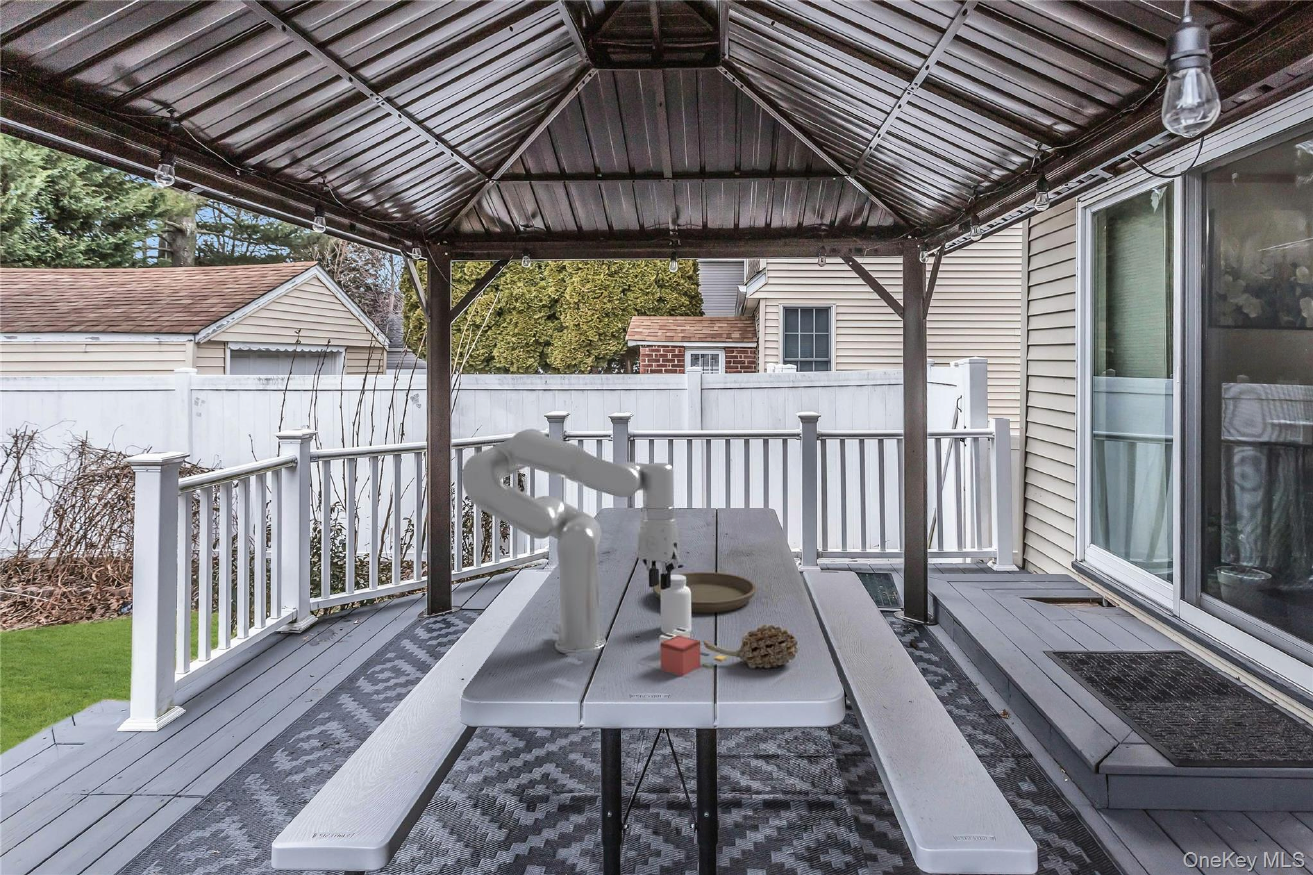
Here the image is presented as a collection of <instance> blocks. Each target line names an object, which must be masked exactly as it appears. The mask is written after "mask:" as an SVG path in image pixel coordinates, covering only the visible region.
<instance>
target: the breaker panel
mask: <svg viewBox="0 0 1313 875" xmlns="http://www.w3.org/2000/svg"><path fill="white" fill-rule="evenodd" d="M675 636H677V635H674V634H670V633H666V634H665V633H663V634H661V635H659V644H660V643H662V642H664V641H666V640H669V639H671V638H673V637H675ZM731 657H732V656H729V655H725V654H721V653H718V652H714V651H711V650H710V649H707V648H706V647H705V645H701V644H700V665H701V667H699V668H697V669H696V670H694V671H692V672H690V673H688V674H686V675H684V676H682V675H679V674H676V673H672V672H669V671H666V670H662V669H661V648H660V647H659V652H657V653H655V654H653V655H651V656H649V657H647V658H645V659H642V660H640V661H638V662H637V664H640V665H643V666H647V667H650V668H653V669H656V670H661V671H663V672H666V673H670V674H673V675H677V676H679V677H683V678H687V679H691V678H692V677H694V676H696V675H699V674H701V673H702V672H704V671H705V670H707V669H710V668H712V667H714V666H716V665H717V664H719V663H721V662H723V661H726V660H727V659H729V658H731Z"/></svg>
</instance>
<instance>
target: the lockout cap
mask: <svg viewBox="0 0 1313 875" xmlns="http://www.w3.org/2000/svg"><path fill="white" fill-rule="evenodd" d="M700 645H701V641H700V640H698V639H694V638H693V639H692V638H691V637H690V638H686V637H682V636H675V637H673V638H671V639H669V640H666V641H664V642H662V643H660V642H659V649H660V648H661V669H662V670H661V671H663V670H666V671H669V672H672V673H671V674H673V673H676V674H679V675H682V676H681V677H683V676H684V675H686V674H688V673H690V672H692V671H694V670H696V669H697V668H699V667H701V665H700ZM666 671H665V672H666ZM669 672H668V673H669ZM676 674H675V675H676ZM679 675H678V676H679Z"/></svg>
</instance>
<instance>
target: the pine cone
mask: <svg viewBox="0 0 1313 875" xmlns="http://www.w3.org/2000/svg"><path fill="white" fill-rule="evenodd" d="M701 642H703V646H705V647H706V648H707V649H710V650H711V651H714V652H718V653H721V654H725V655H729V656H731V657H736V658H739V659H740V660H741V661H744V662H746V663H747V665H748V668H750V669H755V668H762V667H763V668H765V669H771V668H777V667H778V666H782V664H784V665H786V664H788V663H789V662H790V661H792V660H794V659H795V658H796V655H797V653H798V650H799V648H798V647H797V646H798V640H797V639H796V636H795V635H793V633H788V630H787V629H786V628H785V629H784V630H782V628H781V627H780V626H775V625H772V624H770V625H766V624H764V625H762V626H761V627H757V629H756V630H751V631H747V635H745V636H743V637H742V638H741V644H740V647H739V649H738V650H732V649H727V648H723V647H720V646H717V645H715V644H713V643H711V642H709V641H706V640H705V639H704V640H701ZM789 660H790V661H789Z"/></svg>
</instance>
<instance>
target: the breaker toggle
mask: <svg viewBox="0 0 1313 875" xmlns="http://www.w3.org/2000/svg"><path fill="white" fill-rule="evenodd" d="M673 634H674V635H677V636H682V637H686V638H690V639H691V631H690V630H689V629H685V628H681V627H680V628H677V629H675V630H673Z"/></svg>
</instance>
